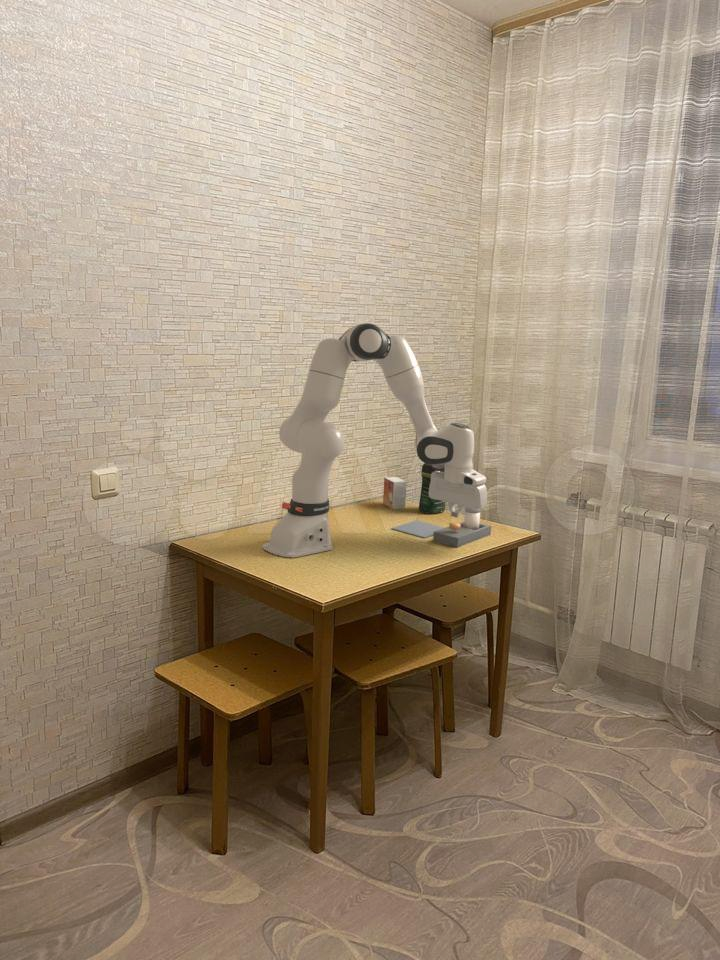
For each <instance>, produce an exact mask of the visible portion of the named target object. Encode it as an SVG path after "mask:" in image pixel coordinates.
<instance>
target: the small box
mask: <svg viewBox="0 0 720 960" xmlns="http://www.w3.org/2000/svg"><path fill="white" fill-rule="evenodd" d="M383 478H384V479H383V494H382V495H383V496H382V497H383V498H382V505H384V506H386V507H388V508H389V509H391V510H401V509H403V510H404V509H405V508H406V504H407V503H406V499H407V486H408V485H407V482H408V481H407V480H403V479H402V478H400V477H398V476H391V477H390V476H388V477H387V476H386V477H383Z"/></svg>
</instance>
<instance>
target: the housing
mask: <svg viewBox="0 0 720 960" xmlns="http://www.w3.org/2000/svg"><path fill="white" fill-rule="evenodd" d="M459 523H460V524H461V529H459V530H452V529H450V528H449V526H447V527H445V528H443V529H440V530H437V531H435V532H434V535H433V536H432V538H433V539H432V541H433V542H437V543H440V544H444V545H448V546H450V547H454V548H459V547H462V545H463V546H465V545H467V543H468V544H471V543H472V542H473V543H474V542H475V540H476V541H478V540H480V539H483V538H486V537H488V536H491V535H492V525H489V524H484V523H479V529H477V530H472V529H468V528H464V521H461V522H459Z"/></svg>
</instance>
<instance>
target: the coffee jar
mask: <svg viewBox="0 0 720 960" xmlns="http://www.w3.org/2000/svg"><path fill="white" fill-rule="evenodd" d="M436 470H437V471H441V472H444V471H445V463H441V464H433V465H430V464H426V463H424V462H423V464H422V465H421V472H420V473H421V489H420V497H419V504H418V510H419V511H420V512H422V513H423V514H430V515H432V514H433V515H434V513H435V514H439V513H442V512H441V511H443V512H444V511H446V502H445V501H441V500H436V499H432V498H430V497H429V486H430V482H431V474H432V472H434V471H436Z"/></svg>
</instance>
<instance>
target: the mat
mask: <svg viewBox="0 0 720 960" xmlns="http://www.w3.org/2000/svg"><path fill="white" fill-rule="evenodd" d="M443 528H446V527H444V526H440V525H437V524H432V523H429V522H426V521H420V520H418V519H416V520H413V521H409V522H407V523H404V524H400V525H397V526H394V527H391V528H390V530H391V531H397V532H401V533H403V534H408V535H411V536H415V537H419V538H421V539H428V538H431V537H433V535H434V532H435V531H437V530H440V529H443Z"/></svg>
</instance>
